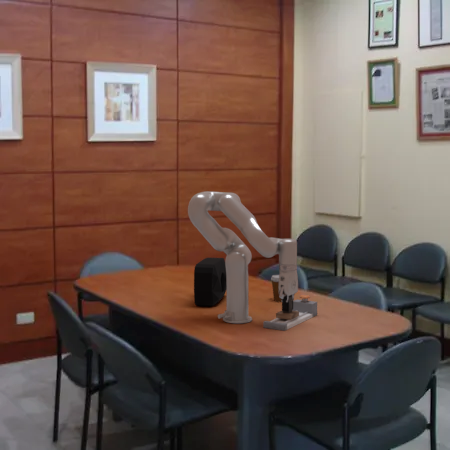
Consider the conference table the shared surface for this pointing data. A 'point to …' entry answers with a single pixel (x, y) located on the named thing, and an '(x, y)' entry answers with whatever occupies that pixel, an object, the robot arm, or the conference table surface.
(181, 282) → the conference table surface
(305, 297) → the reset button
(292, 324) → the rail track
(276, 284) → the disposable coffee cup
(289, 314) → the carriage
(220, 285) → the black hard case
